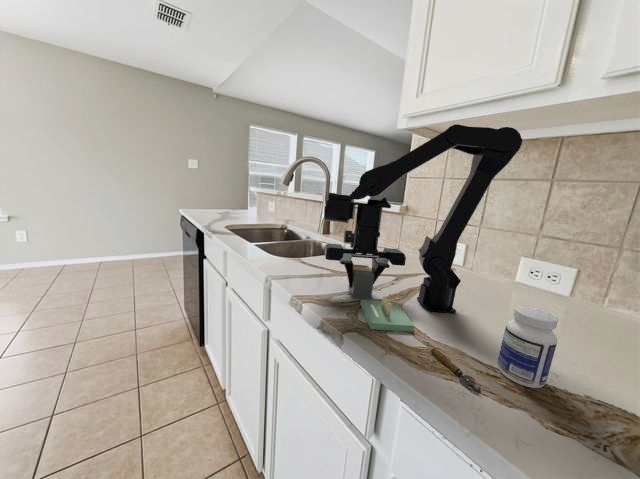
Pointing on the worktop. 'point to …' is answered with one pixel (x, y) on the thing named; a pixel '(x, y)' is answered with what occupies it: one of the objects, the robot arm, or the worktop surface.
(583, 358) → the worktop surface
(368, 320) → the board
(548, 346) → the pill bottle
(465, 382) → the can opener
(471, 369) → the worktop surface
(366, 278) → the block
